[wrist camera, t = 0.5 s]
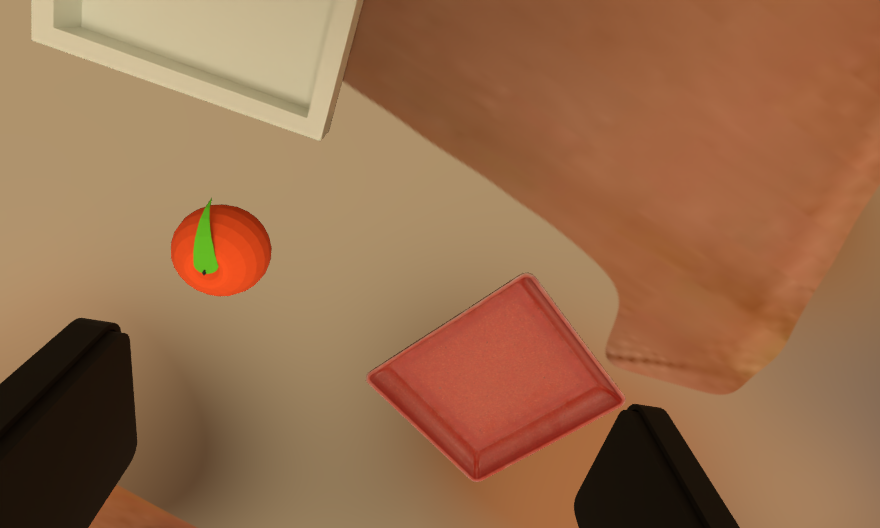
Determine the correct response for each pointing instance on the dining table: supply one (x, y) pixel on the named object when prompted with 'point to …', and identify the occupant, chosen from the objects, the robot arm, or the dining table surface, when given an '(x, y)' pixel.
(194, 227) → the clementine
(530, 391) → the plant saucer
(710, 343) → the dining table surface
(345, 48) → the tray
